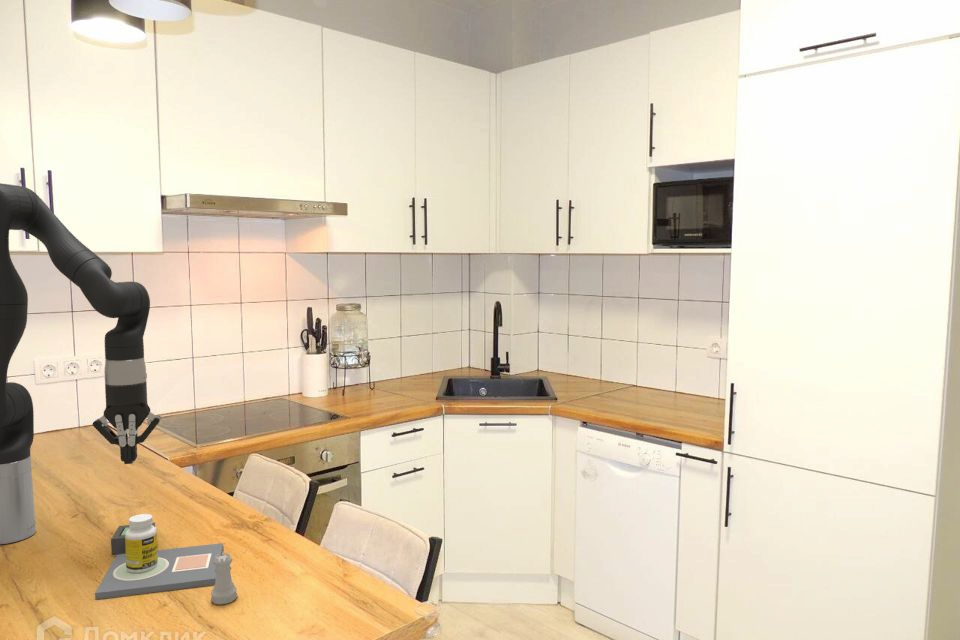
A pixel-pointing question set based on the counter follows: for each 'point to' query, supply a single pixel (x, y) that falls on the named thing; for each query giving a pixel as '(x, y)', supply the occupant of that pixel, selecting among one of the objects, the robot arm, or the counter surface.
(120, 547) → the button housing
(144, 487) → the counter surface
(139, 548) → the supplement bottle
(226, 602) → the rook chess piece
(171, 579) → the picture board
